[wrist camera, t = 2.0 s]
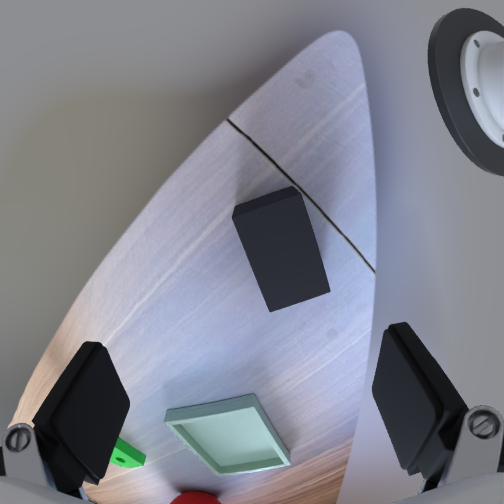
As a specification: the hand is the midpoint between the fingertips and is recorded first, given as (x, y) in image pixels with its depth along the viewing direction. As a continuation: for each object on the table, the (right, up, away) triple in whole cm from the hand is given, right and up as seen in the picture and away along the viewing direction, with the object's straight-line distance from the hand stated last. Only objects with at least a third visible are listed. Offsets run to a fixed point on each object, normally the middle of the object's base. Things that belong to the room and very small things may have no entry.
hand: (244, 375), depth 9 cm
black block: (+3, +5, +16) cm, 17 cm away
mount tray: (-2, -21, +25) cm, 33 cm away
